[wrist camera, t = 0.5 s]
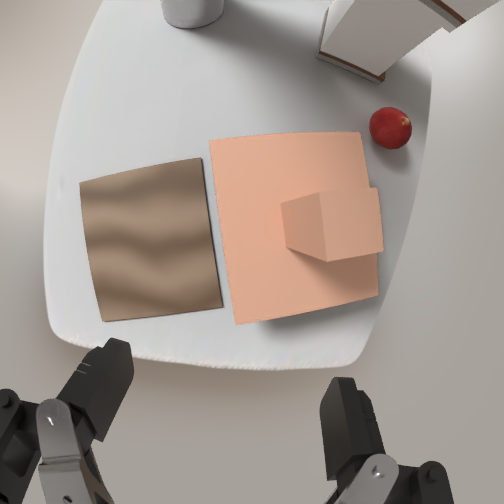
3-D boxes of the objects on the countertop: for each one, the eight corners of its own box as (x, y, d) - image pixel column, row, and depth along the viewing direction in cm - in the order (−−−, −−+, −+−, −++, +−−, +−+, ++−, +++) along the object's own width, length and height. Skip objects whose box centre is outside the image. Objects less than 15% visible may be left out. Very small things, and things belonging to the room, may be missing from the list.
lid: (209, 147, 26) (205, 92, 14) (349, 138, 28) (418, 99, 16) (234, 316, 28) (246, 380, 16) (367, 290, 30) (440, 324, 18)
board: (80, 183, 31) (79, 182, 30) (200, 158, 33) (200, 157, 32) (103, 320, 33) (102, 321, 33) (222, 305, 35) (222, 306, 34)
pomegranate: (378, 111, 35) (408, 92, 27) (398, 143, 36) (432, 131, 28) (352, 126, 34) (381, 106, 26) (374, 160, 35) (408, 149, 27)
